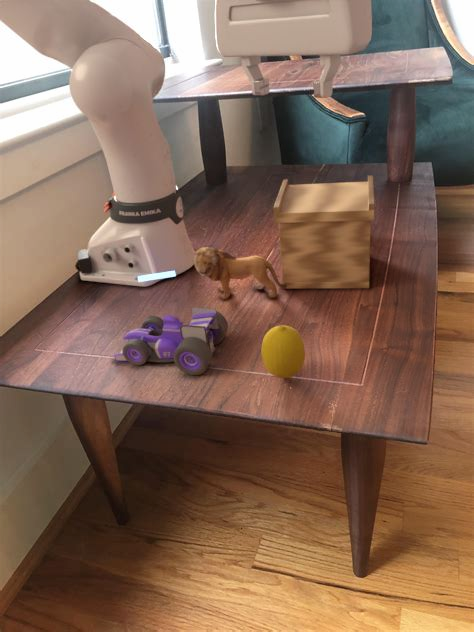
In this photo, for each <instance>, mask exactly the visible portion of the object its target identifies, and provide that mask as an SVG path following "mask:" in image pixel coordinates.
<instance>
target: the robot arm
mask: <svg viewBox="0 0 474 632" xmlns="http://www.w3.org/2000/svg"><path fill="white" fill-rule="evenodd" d="M0 22H2V23H3V24H4V25H5V26H6V27H7V28H9V29H10V30H11V31H13V33H15V34H16V35H17V36H18V37H20V38H21V39H22V40H23V41H25V43H27V44H28V45H29V46H30V47H32V48H33V49H34V50H35V51H37V52H38V53H39V54H41V55H42V56H45V57H47V58H50V59H53V60H55V61H57V62H59V63H61V64H63V65H64V66H66V67H67V68H70V69H71V71H70V74H69V80H68V86H69V92H70V96H71V98H72V101H73V102H74V103H75V106H76V108H78V110H79V111H80V112H81V113H82V114H83V115H84V116H85V117H87V120H88V121H89V123H90V125H91V128H92V130H93V132H94V134H95V136H96V138H97V141H98V142H99V145H100V147H101V150H102V153H103V156H104V158H105V162H106V165H107V169H108V173H109V177H110V182H111V185H112V189H113V192H112V194H111V197H109V199H108V200H107V201H106V203H105V204H104V206H103V209H104V213H108V212H109V214H110V215H109V217H108V218H107V219H106V220H105V222H104V223H102V224H101V226H99V228H98V229H97V230H96V231H95V232H94V233H93V234H92V236H91V237H90V239H89V241H88V244H87V248H84V249H79V250H78V253H77V261H76V262H75V265H74V267H75V269H76V270H77V271H78V272H79V278H80V280H81V281H87V282H96V283H104V284H115V285H123V286H124V285H125V286H131V287H133V286H134V287H143V288H144V287H145V288H146V287H150V286H152V285H154V284H156V283H158V282H160V281H162V280H165V279H169V278H173V277H176V276H178V275H180V274H182V273H185V272H186V271H187V270H190V269H191V268H192V267H193V266H195V259H194V258H195V256H194V253H195V252H196V251H195V249H194V247H193V245H192V242H191V240H190V238H189V235H188V231H187V228H186V225H185V221H184V206H183V205H184V204H183V199H182V196H181V192H180V188H179V186H178V185H177V182H176V177H175V172H174V167H173V160H172V155H171V149H170V144H169V142H168V140H167V139H166V137H165V136H164V133H163V131H162V129H161V125H160V124H159V120H158V117H157V115H156V111H155V107H154V99H155V97H157V96H158V94H159V93H160V91H161V90H162V87H163V86H164V82H165V77H166V62H165V58H164V55H163V53H162V52H161V50H160V48H159V47H158V46H157V45H156V44H155V43H153V42H152V41H151V40H150V39H148V38H146V37H144V36H142V34H139V33H138V32H137V31H135V29H133V28H132V27H130V26H129V25H128V24H126V23H124V22H123V21H122V20H121V19H119V18H118V17H116V15H114V14H112V13H111V12H109V11H108V10H106V9H105V8H103V7H102V6H101V5H99V4H98V3H96V2H95V1H93V0H0ZM214 28H215V29H214V30H215V45H216V49H217V50H218V52H219V54H220V55H221V56H222V57H223V58H240V60H241V67H242V69H243V71H244V72H245V74H246V76H247V78H248V80H249V81H250V85H251V94H252V95H253V96H265V95H268V94H269V93H270V89H271V88H270V86H269V85H270V80H269V79H270V78H268V77H266V78H265V77H264V75H263V72H262V70H261V68H260V66H259V64H261V63H262V57H292V56H293V57H294V56H297V57H298V56H299V57H300V56H319V65H320V66H321V67H323V69H322V72H321V75H320V78H319V79H318V80H315V81H312V86H313V87H312V88H313V98H318V99H328V98H330V97H332V95H333V80H334V78H335V77H336V74H337V73H338V70H339V68H340V66H341V64H342V56H345V55H347V56H349V55H353V54H357V53H360V52H362V51H365V50H366V49H367V47H368V45H369V43H370V42H371V40H372V35H373V32H372V31H373V13H372V0H215V6H214Z"/></svg>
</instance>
